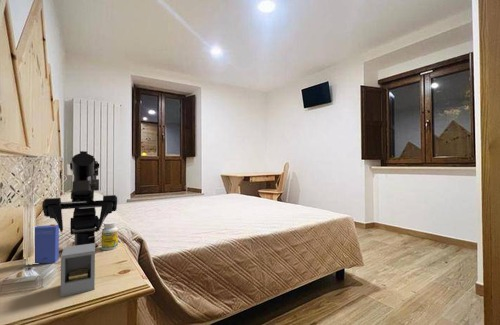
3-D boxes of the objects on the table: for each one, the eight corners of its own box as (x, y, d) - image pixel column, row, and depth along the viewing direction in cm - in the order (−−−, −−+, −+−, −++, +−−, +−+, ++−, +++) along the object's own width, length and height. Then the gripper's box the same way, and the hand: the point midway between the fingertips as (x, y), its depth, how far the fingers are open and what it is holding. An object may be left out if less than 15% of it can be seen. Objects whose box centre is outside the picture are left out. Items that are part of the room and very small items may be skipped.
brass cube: (70, 285, 66) (70, 270, 66) (88, 282, 68) (88, 267, 68) (68, 292, 62) (68, 277, 62) (87, 288, 65) (87, 273, 65)
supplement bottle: (117, 244, 98) (117, 220, 98) (118, 248, 93) (118, 223, 93) (101, 247, 95) (101, 222, 95) (101, 251, 90) (102, 225, 90)
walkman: (58, 259, 83) (59, 223, 82) (55, 262, 80) (55, 225, 80) (29, 262, 80) (29, 225, 80) (24, 265, 77) (25, 227, 77)
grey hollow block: (63, 284, 66) (64, 247, 66) (94, 278, 70) (95, 243, 70) (60, 296, 60) (60, 255, 60) (94, 289, 64) (94, 250, 64)
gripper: (43, 170, 71) (35, 216, 62) (117, 170, 81) (119, 210, 72) (48, 194, 78) (40, 239, 69) (115, 191, 88) (117, 230, 79)
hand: (81, 229), depth 72 cm, fingers open, 9 cm apart
